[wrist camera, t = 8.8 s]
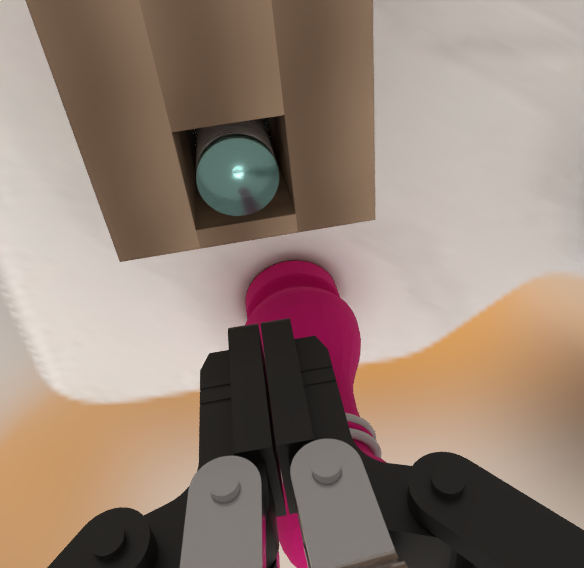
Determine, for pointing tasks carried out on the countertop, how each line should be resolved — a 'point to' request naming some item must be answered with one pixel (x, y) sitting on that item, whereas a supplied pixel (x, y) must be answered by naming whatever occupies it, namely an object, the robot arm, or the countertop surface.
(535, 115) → the countertop surface
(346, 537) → the robot arm
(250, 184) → the peg
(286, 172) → the walnut block
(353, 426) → the pepper mill
